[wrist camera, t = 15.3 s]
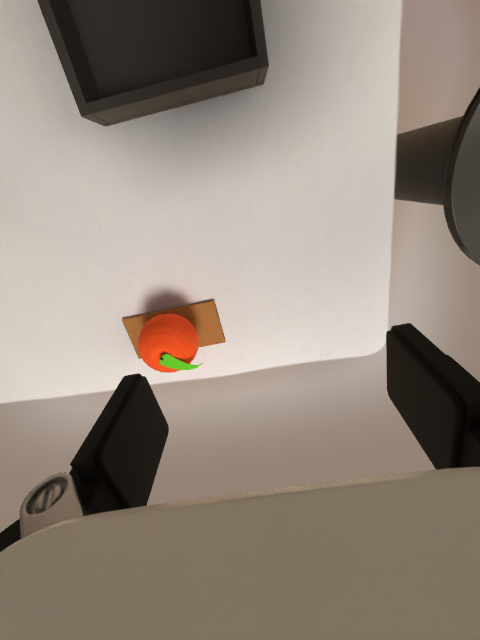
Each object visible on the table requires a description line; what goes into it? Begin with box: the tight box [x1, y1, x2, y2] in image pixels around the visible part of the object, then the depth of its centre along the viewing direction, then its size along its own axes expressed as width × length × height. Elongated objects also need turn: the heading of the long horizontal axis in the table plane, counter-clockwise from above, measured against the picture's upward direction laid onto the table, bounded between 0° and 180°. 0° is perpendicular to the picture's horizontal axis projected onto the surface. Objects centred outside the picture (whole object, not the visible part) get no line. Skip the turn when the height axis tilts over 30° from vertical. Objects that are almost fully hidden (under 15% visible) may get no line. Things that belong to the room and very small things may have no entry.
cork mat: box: [122, 300, 225, 359], centre depth 38 cm, size 12×6×1 cm, turn 102°
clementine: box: [138, 313, 201, 373], centre depth 34 cm, size 8×7×7 cm
